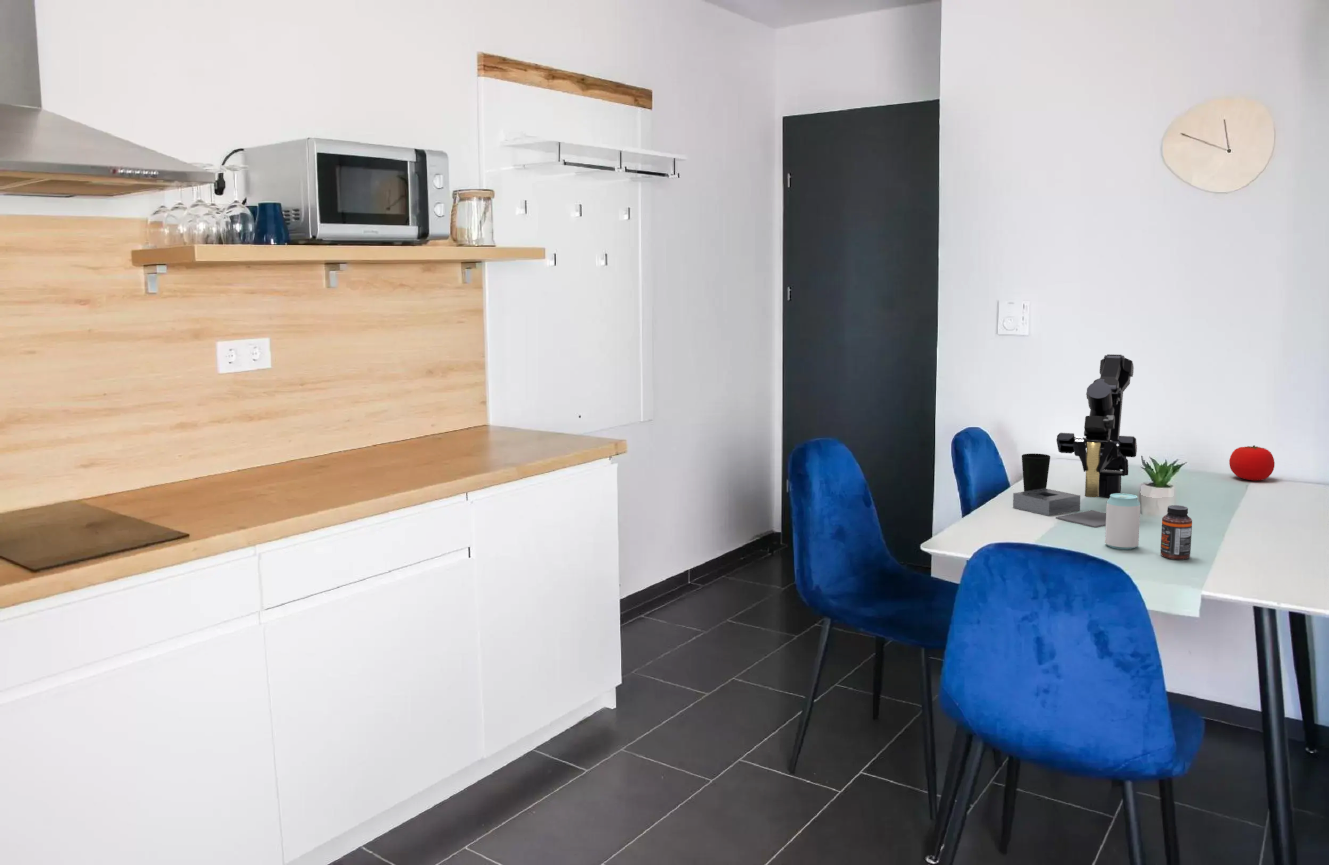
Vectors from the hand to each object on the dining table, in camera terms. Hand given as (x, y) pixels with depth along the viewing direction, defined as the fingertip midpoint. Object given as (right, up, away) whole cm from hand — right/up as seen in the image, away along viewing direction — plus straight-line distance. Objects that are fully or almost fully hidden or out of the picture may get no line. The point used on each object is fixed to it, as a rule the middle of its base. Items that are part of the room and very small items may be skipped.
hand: (1091, 471), depth 253 cm
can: (-3, -17, -23) cm, 28 cm away
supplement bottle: (+5, -18, -32) cm, 37 cm away
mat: (+2, -13, +4) cm, 13 cm away
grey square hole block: (-5, -11, +17) cm, 21 cm away
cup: (-3, -9, +32) cm, 33 cm away
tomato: (+69, -5, +49) cm, 85 cm away
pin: (+1, -6, +2) cm, 7 cm away
